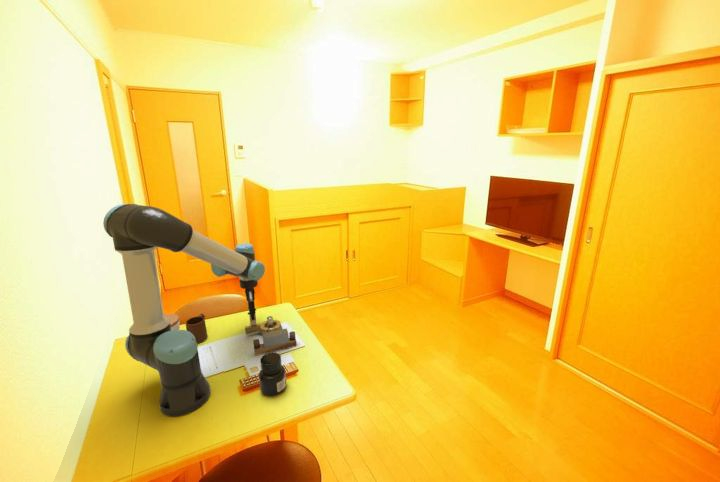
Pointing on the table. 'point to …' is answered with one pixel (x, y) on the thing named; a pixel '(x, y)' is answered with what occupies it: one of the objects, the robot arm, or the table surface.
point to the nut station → (269, 323)
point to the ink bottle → (272, 375)
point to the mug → (197, 327)
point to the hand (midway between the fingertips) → (253, 324)
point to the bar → (275, 338)
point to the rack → (261, 350)
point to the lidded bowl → (173, 321)
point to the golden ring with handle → (263, 327)
